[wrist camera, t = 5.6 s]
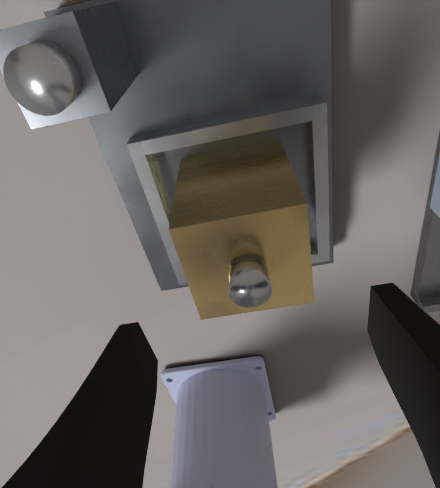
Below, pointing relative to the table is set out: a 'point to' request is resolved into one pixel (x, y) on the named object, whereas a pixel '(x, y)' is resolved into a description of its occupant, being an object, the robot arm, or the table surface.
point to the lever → (436, 192)
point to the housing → (242, 231)
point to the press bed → (184, 96)
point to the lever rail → (428, 256)
